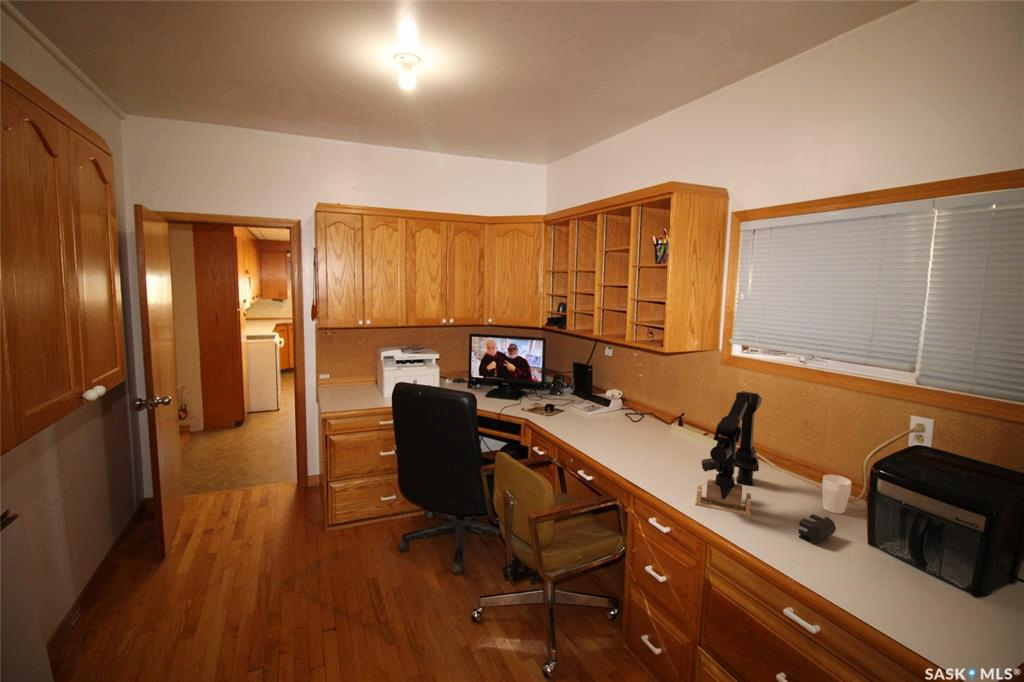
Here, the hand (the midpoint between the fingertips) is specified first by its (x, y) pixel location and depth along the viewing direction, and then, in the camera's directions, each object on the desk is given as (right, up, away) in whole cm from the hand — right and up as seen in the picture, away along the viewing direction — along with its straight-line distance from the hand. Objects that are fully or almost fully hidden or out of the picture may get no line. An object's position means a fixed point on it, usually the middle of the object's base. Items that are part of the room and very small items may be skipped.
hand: (723, 493), depth 183 cm
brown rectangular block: (0, -2, 0) cm, 2 cm away
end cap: (+22, -9, -21) cm, 31 cm away
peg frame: (0, -5, +1) cm, 5 cm away
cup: (+41, -6, -1) cm, 41 cm away
